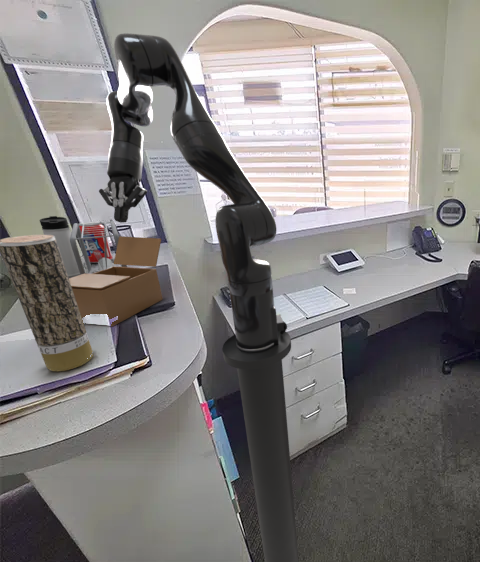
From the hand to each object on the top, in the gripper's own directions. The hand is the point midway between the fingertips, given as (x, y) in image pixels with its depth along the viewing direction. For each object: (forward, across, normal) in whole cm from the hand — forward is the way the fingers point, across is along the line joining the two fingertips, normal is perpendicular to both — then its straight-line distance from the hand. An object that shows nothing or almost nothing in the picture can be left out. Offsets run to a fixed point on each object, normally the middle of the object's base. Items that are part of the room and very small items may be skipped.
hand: (120, 221), depth 85 cm
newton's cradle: (+14, +20, -18) cm, 30 cm away
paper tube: (+36, -11, +18) cm, 42 cm away
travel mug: (+12, +35, -19) cm, 42 cm away
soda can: (+3, +41, -34) cm, 54 cm away
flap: (+7, -2, -4) cm, 9 cm away
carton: (+24, 0, -1) cm, 24 cm away
